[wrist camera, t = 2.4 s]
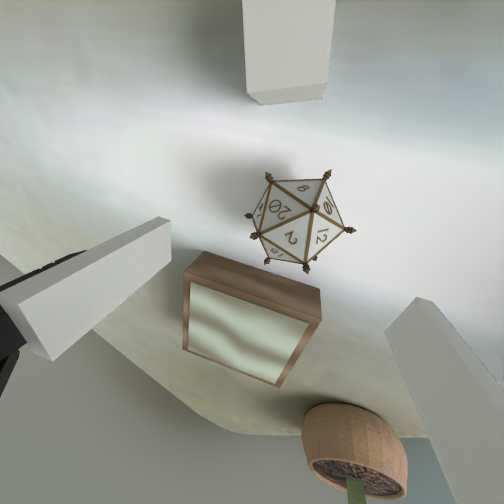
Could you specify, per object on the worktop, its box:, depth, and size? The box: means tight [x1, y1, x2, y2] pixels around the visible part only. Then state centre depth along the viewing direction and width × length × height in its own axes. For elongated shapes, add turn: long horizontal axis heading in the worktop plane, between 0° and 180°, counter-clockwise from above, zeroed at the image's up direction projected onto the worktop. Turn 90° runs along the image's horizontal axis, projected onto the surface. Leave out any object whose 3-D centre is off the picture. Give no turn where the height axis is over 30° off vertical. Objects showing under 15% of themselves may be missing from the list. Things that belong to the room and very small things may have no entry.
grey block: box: [242, 0, 336, 106], centre depth 13 cm, size 5×5×5 cm
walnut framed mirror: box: [183, 251, 322, 388], centre depth 27 cm, size 16×16×5 cm
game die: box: [244, 169, 357, 274], centre depth 17 cm, size 9×8×10 cm
